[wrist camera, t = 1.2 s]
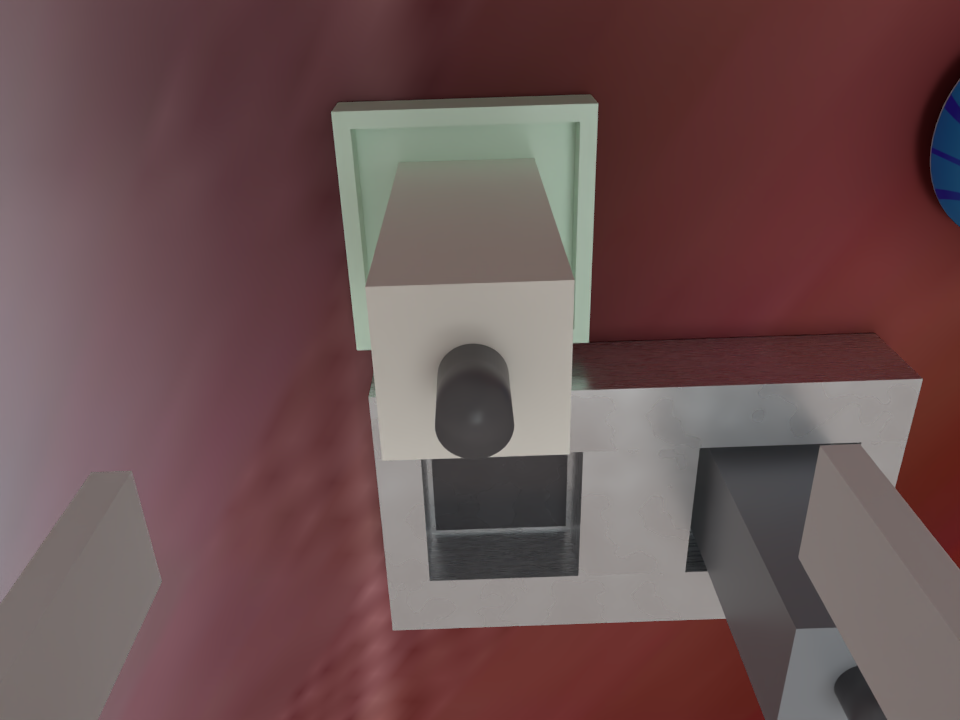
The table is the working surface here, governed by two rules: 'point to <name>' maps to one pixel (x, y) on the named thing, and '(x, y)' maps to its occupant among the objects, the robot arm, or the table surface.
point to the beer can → (947, 156)
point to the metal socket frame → (624, 480)
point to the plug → (471, 314)
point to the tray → (467, 136)
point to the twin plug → (774, 582)
